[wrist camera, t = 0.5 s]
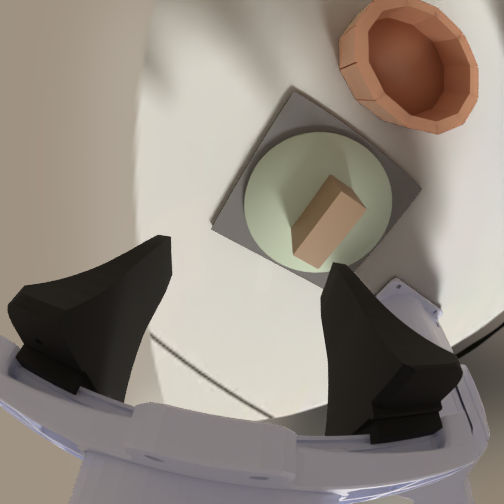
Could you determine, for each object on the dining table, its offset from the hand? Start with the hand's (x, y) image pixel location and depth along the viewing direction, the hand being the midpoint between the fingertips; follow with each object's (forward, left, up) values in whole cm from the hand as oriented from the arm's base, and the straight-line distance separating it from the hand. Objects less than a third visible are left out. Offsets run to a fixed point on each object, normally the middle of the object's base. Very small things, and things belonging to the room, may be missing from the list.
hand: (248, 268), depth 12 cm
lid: (-4, -2, -9) cm, 10 cm away
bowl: (-3, -14, -9) cm, 17 cm away
